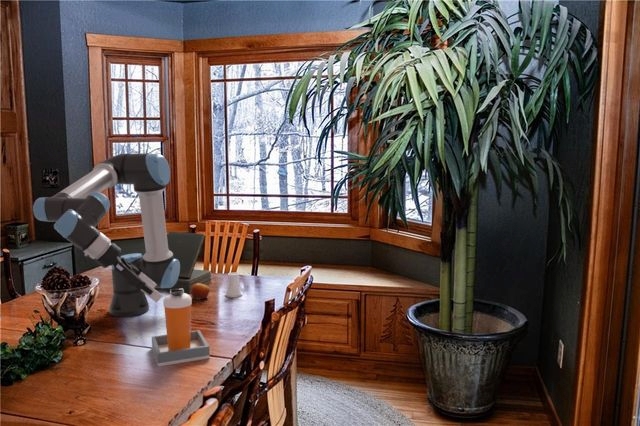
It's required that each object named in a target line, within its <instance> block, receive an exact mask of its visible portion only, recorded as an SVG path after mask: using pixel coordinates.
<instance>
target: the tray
mask: <svg viewBox="0 0 640 426" xmlns="http://www.w3.org/2000/svg"><path fill="white" fill-rule="evenodd" d="M151 349H152V351H153V356H154V358H155V361H156V362H155V363H156V365H157V367H163V366H164V367H165V366H170V365H176V364H183V363H187V362H193V361H200V360H206V359H210V357H211V355H210V345H209V343H208V341H207V340H206V338H205V337H204V335H203V333H202V332H201V330H200V329H196V330H191V343H190V348H187V349H180V350H174V351H168V342H167V334H162V335H161V334H160V335H152V336H151Z"/></svg>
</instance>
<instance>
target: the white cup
mask: <svg viewBox="0 0 640 426" xmlns="http://www.w3.org/2000/svg"><path fill="white" fill-rule="evenodd" d="M239 275H240V273H239V272H236V271H235V272H228V273H227V276H228V284H227V290H226V291H225V292H224V293H225V294H224V295H225V297H226V298H238V297H239V298H240V297H242V296H243V291H242V290H241V287H240V282H239V277H240V276H239Z"/></svg>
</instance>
